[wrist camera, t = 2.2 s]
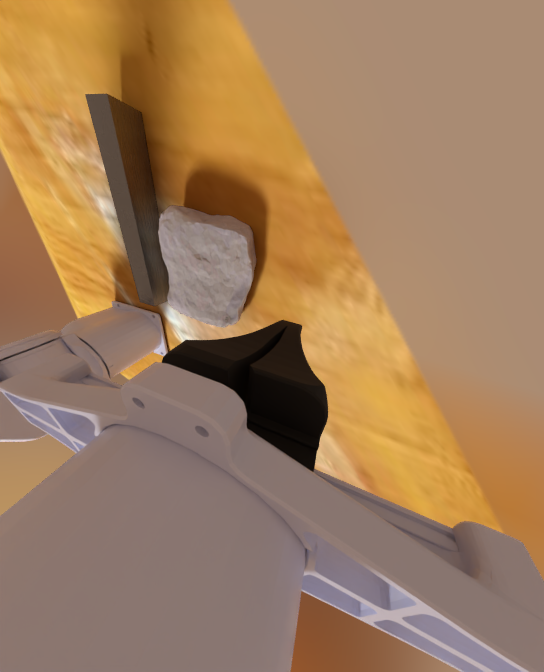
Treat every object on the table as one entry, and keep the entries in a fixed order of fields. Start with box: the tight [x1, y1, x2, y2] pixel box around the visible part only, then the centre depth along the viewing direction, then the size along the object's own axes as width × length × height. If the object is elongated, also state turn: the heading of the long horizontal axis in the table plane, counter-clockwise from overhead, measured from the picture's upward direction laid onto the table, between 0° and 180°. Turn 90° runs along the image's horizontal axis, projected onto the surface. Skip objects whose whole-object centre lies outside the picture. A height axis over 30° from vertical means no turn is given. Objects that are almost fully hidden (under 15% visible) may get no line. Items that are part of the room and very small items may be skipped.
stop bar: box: [85, 94, 170, 306], centre depth 21 cm, size 2×18×3 cm, turn 175°
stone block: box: [158, 205, 257, 327], centre depth 22 cm, size 12×5×10 cm
